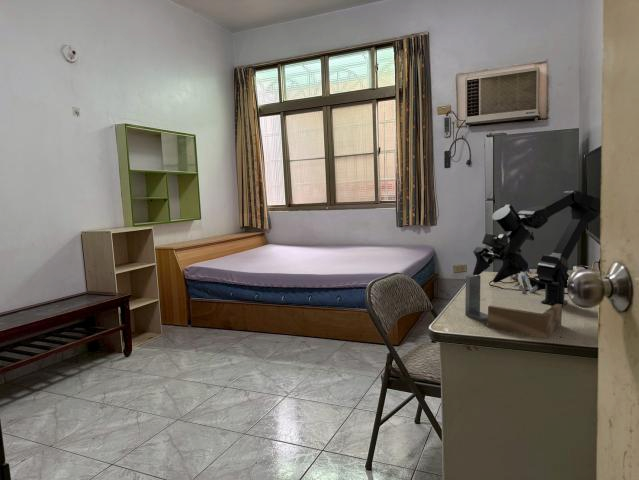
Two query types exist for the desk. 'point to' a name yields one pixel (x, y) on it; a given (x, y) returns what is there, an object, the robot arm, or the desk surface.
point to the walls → (525, 320)
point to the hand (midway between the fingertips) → (483, 279)
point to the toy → (524, 277)
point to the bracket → (474, 299)
